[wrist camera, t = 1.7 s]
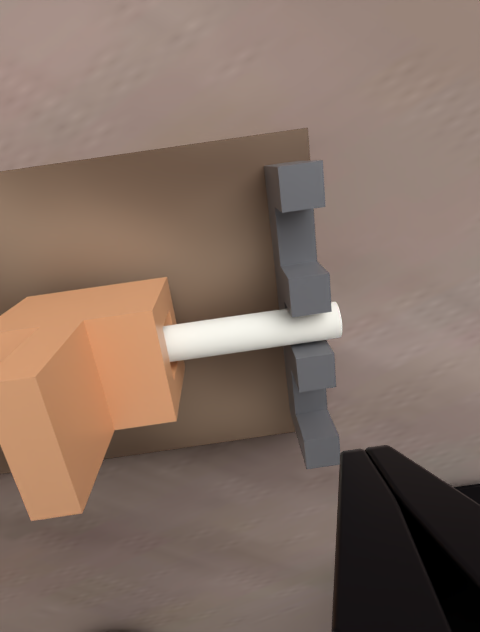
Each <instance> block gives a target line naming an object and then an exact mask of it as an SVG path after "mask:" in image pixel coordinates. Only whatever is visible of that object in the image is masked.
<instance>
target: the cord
mask: <svg viewBox="0 0 480 632" xmlns="http://www.w3.org/2000/svg"><path fill="white" fill-rule="evenodd" d="M331 309H332V312H327V313H320V314H313V315H306V316H299V317H292V316H291V314H290V312H289V310H288V308H287V309H280V310H273V311H266V312H259V313H252V314H245V315H238V316H231V317H224V318H217V319H210V320H203V321H196V322H189V323H182V324H175V325H168V326H163V332H164V337H165V341H166V346H167V351H168V355H169V360H170V362H174V361H181V360H188V359H195V358H202V357H209V356H216V355H223V354H230V353H237V352H244V351H251V350H258V349H265V348H272V347H279V346H286V345H293V344H300V343H307V342H314V341H321V340H328V339H335V338H341V336H342V319H341V314H340V310H339V307H338V305H337V303H336V302H331Z"/></svg>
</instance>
